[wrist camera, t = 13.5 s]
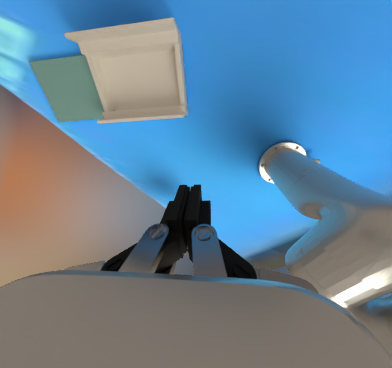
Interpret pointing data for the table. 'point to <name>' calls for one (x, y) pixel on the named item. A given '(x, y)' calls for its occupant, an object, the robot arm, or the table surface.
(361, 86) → the table surface
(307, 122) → the table surface
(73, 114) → the lid
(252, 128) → the table surface
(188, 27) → the table surface
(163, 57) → the box
